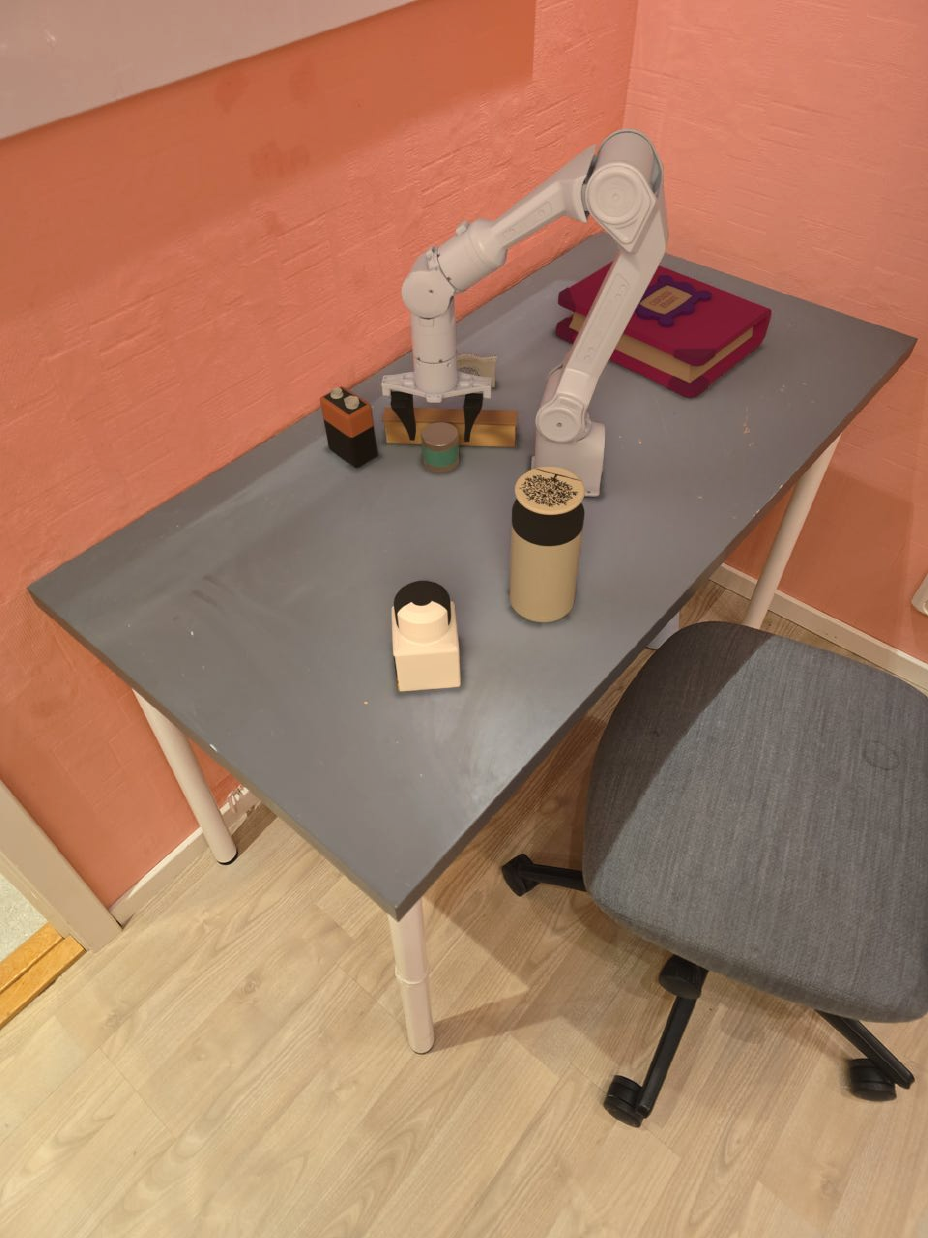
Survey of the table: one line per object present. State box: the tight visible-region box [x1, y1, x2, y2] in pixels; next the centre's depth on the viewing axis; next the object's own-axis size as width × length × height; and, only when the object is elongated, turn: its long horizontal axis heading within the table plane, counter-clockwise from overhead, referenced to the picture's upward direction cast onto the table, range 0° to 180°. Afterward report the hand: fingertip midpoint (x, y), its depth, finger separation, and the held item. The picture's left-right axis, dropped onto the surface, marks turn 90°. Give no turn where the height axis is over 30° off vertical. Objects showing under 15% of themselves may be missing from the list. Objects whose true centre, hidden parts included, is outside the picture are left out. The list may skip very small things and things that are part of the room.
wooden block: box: [381, 406, 519, 448], centre depth 123 cm, size 19×4×4 cm, turn 85°
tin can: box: [421, 422, 460, 474], centre depth 119 cm, size 5×5×5 cm
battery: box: [319, 385, 379, 469], centre depth 119 cm, size 4×7×10 cm, turn 43°
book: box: [555, 260, 773, 399], centre depth 137 cm, size 21×28×8 cm
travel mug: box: [509, 467, 585, 623], centre depth 97 cm, size 8×8×18 cm
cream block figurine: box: [390, 580, 462, 692], centre depth 93 cm, size 7×7×12 cm
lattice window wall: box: [457, 352, 498, 388], centre depth 131 cm, size 12×2×6 cm, turn 92°
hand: (440, 436), depth 118 cm, fingers open, 7 cm apart
